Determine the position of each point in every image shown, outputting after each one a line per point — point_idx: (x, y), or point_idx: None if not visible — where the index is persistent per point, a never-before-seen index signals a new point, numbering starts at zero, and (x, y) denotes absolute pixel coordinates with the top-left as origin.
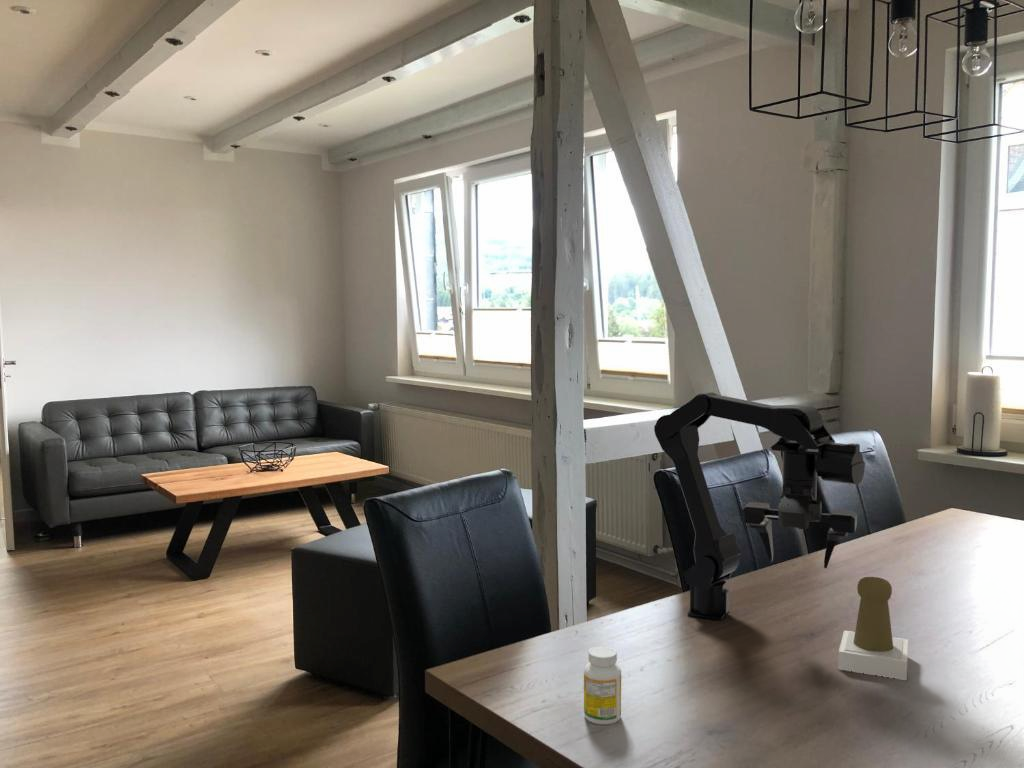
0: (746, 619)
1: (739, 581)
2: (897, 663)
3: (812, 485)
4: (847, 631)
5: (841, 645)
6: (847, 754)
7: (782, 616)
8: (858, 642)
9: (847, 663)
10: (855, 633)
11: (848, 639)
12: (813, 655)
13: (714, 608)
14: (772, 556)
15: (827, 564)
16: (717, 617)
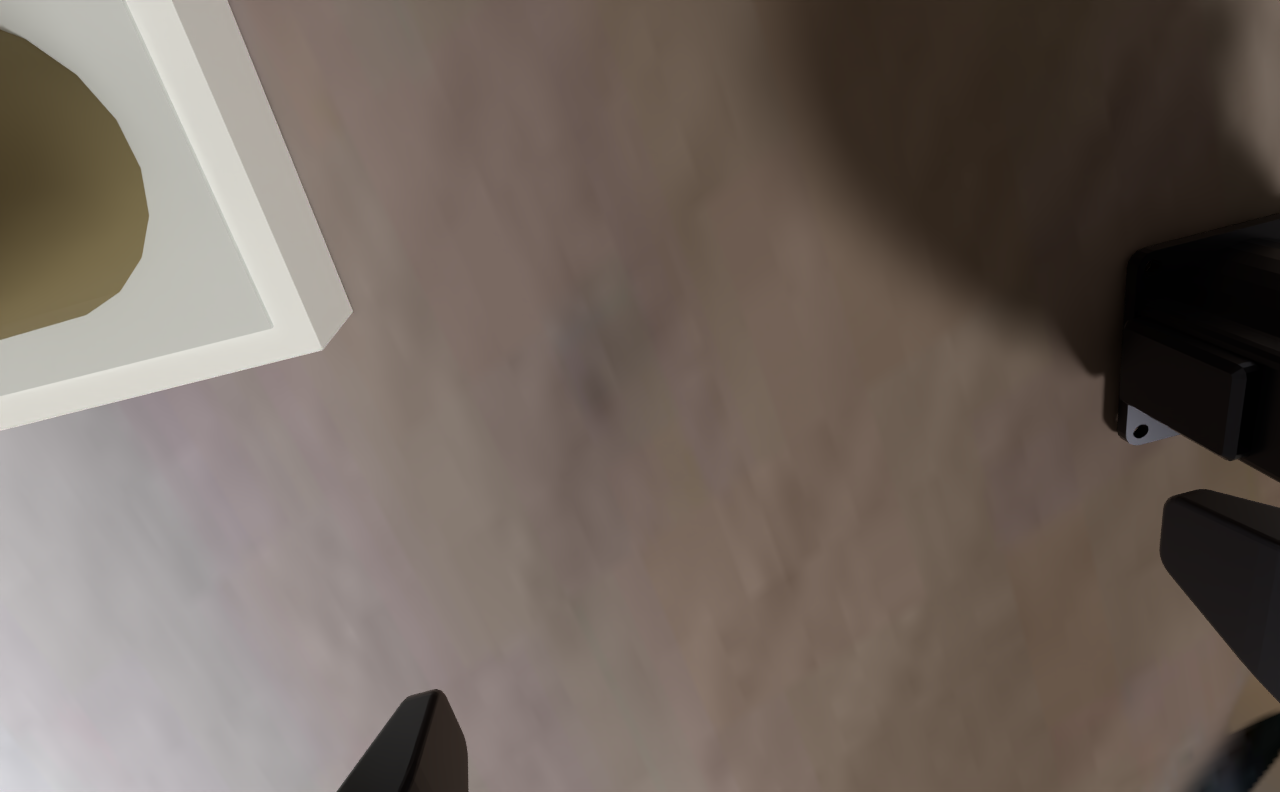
0: (991, 374)
1: None
2: None
3: None
4: (293, 343)
5: (163, 7)
6: None
7: (824, 535)
8: (3, 43)
9: None
10: (39, 112)
11: (185, 167)
12: (440, 45)
13: (1221, 288)
14: (1222, 582)
15: (374, 741)
16: (1161, 251)
